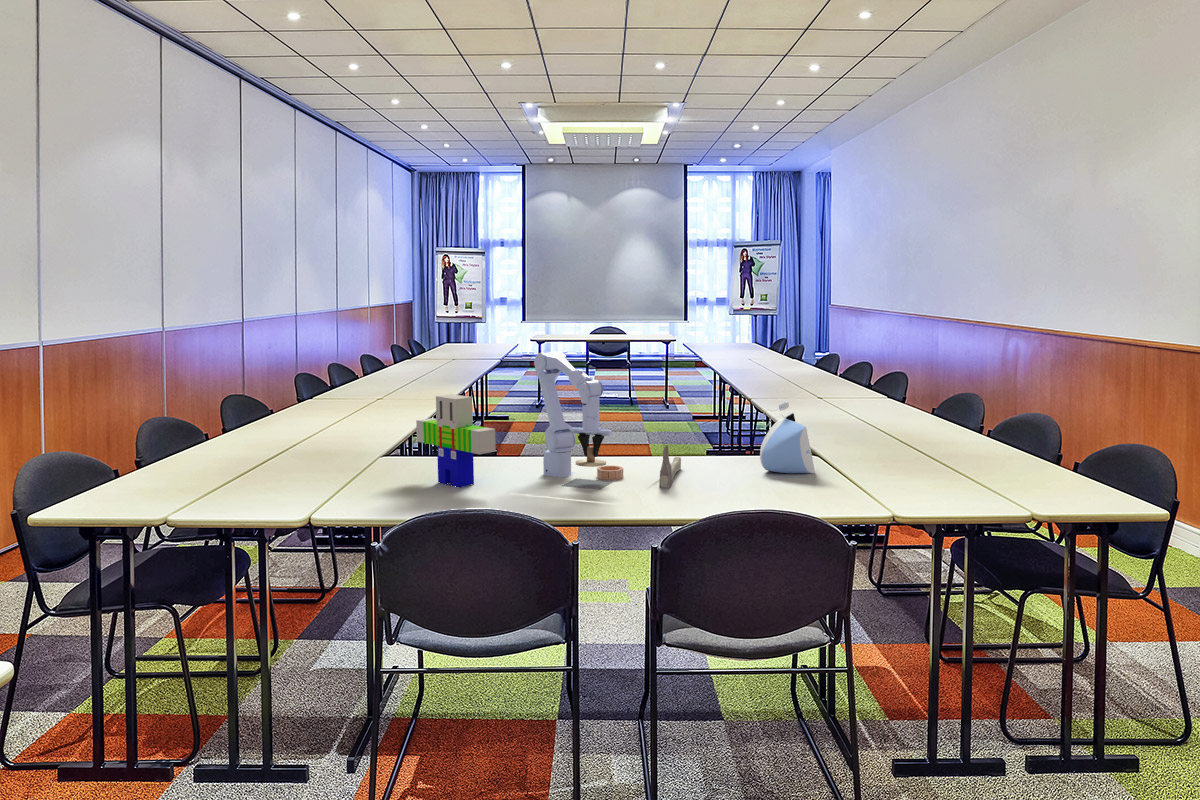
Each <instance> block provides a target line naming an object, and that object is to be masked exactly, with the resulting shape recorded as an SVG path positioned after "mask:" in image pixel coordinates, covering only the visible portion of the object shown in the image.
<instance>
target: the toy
mask: <svg viewBox="0 0 1200 800" xmlns="http://www.w3.org/2000/svg"><path fill="white" fill-rule="evenodd" d="M435 414H436V416H435V417H436V418H434V417H432V418H423V419H417V420H416V422H415V423H416V442H418V443H421V444H428V445H432V446H436V447H437V449H436V453H437V455H436V457H437V483H438V482H440V483H439V484H441V483H444V484H443V485H445V484H446V485H448V484H447V483H450V484H449V485H452V486H451V487H453V486H456V487H455V488H457V487H459V488H463V487H462V486H464V487H468V486H467V485H469V486H472V485H471V484H473V485H475V474H474V473H475V470H474V468H475V467H474V466H475V465H474V464H475V463H474V454H476V455H484V454H489V453H495V452H496V428H492V427H486V426H480V425H475V424H473V422H474V421H473V397H472V396H468V395H467V396H466V395H460V394H453V393H451V394H443V395H436V396H435Z"/></svg>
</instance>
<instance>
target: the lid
mask: <svg viewBox="0 0 1200 800" xmlns="http://www.w3.org/2000/svg"><path fill="white" fill-rule="evenodd" d="M575 465H576V466H579V467H584V468H585V467H589V468H592V467H593V468H594V467H595V468H597V467H600V466H607V461H606V460H605V459H599V458H597V459H596V457H594V455H593V445H592V446H590V445H589V447H587V456H586V458H585V459H584V458H583V459H578V460H576V461H575Z"/></svg>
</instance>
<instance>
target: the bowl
mask: <svg viewBox="0 0 1200 800" xmlns="http://www.w3.org/2000/svg"><path fill="white" fill-rule="evenodd" d="M596 477H597V478H598V479H599V480H604V481H609V480H610V481H612V480H620V479H623V478H624V468H623V466H619V465H604V466H597V467H596Z"/></svg>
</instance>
